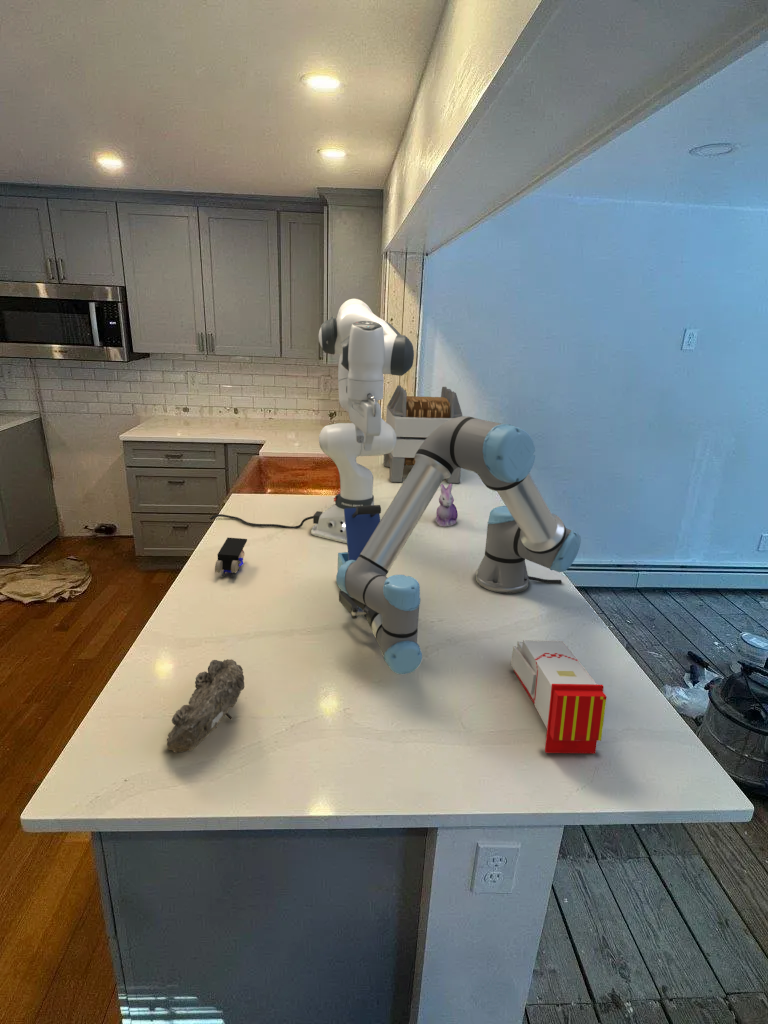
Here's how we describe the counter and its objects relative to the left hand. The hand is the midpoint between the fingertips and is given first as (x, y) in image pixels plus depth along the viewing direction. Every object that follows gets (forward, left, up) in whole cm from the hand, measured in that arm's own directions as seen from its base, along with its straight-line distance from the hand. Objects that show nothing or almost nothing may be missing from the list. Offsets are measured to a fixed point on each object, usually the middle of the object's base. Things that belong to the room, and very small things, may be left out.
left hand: (363, 446), depth 144 cm
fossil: (-10, -58, -42) cm, 72 cm away
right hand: (+3, -5, -35) cm, 35 cm away
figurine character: (-40, 0, -42) cm, 57 cm away
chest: (0, -1, -42) cm, 42 cm away
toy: (+51, -33, -42) cm, 74 cm away
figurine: (+13, +63, -42) cm, 77 cm away
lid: (+2, -4, -25) cm, 25 cm away
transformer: (-11, +126, -42) cm, 133 cm away
